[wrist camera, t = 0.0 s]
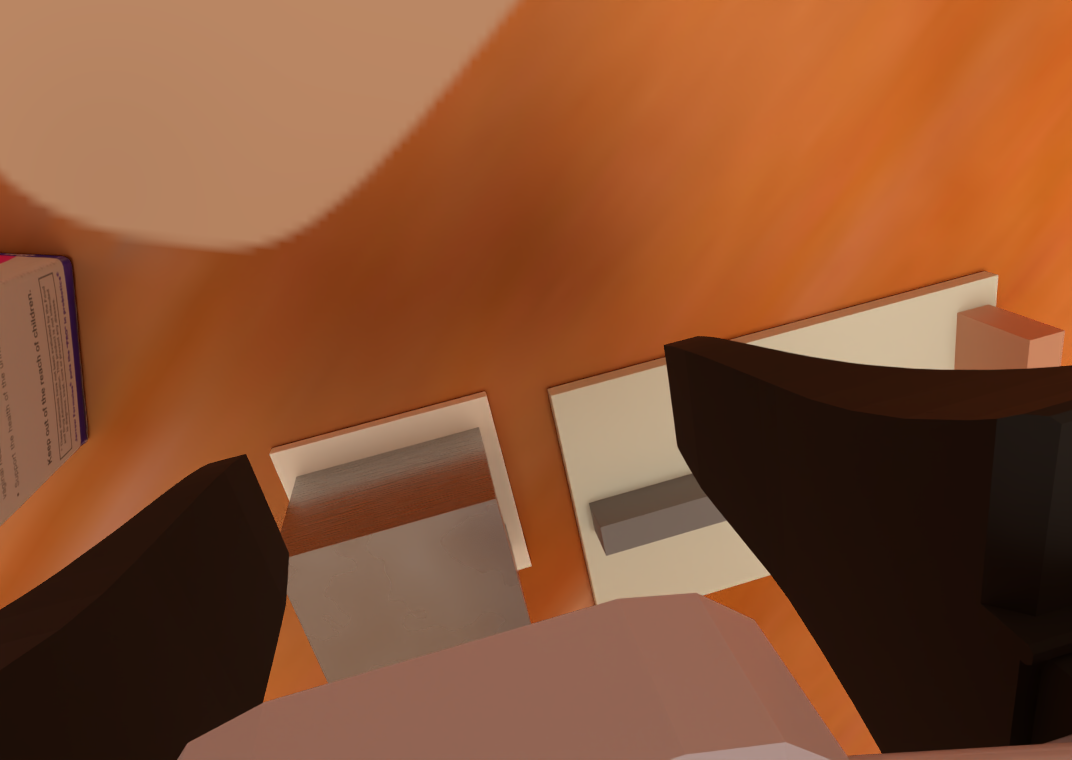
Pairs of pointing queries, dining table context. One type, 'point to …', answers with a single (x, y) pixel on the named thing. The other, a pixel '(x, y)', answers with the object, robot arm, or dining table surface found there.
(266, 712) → the robot arm
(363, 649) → the clip
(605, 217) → the dining table surface
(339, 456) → the pad
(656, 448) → the rail board
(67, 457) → the supplement box
